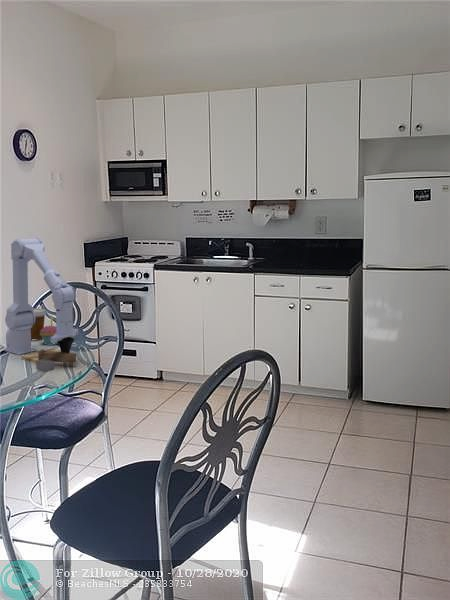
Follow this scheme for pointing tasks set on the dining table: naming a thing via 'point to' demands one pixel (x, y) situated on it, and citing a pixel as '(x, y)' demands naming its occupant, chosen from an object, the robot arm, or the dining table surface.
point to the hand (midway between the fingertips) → (65, 358)
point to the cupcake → (48, 332)
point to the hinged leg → (57, 356)
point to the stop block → (44, 365)
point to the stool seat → (35, 356)
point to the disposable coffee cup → (38, 323)
